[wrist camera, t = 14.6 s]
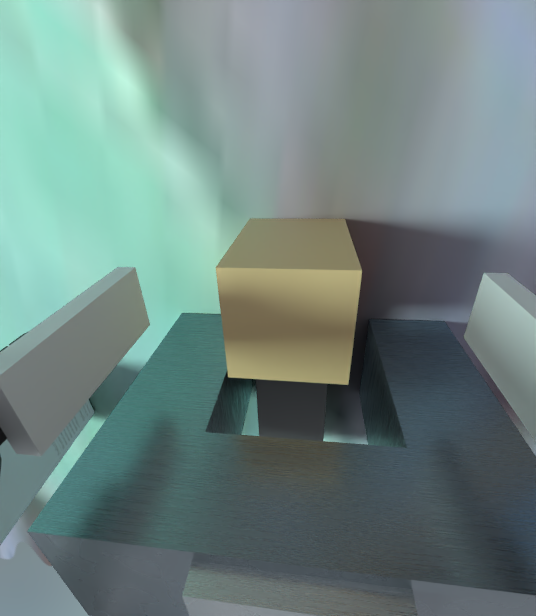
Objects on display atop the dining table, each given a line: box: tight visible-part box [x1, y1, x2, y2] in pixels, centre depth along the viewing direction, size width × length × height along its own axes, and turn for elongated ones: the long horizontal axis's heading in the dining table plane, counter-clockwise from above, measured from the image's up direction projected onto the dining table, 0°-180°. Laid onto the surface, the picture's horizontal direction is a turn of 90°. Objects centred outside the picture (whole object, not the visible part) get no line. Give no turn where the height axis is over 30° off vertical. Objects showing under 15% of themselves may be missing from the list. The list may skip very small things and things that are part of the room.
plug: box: [216, 219, 362, 441], centre depth 18 cm, size 5×16×7 cm, turn 2°
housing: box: [27, 313, 536, 616], centre depth 15 cm, size 16×6×14 cm, turn 92°
